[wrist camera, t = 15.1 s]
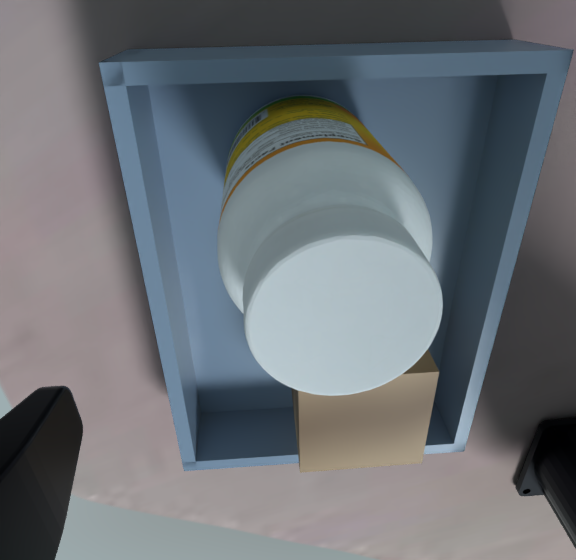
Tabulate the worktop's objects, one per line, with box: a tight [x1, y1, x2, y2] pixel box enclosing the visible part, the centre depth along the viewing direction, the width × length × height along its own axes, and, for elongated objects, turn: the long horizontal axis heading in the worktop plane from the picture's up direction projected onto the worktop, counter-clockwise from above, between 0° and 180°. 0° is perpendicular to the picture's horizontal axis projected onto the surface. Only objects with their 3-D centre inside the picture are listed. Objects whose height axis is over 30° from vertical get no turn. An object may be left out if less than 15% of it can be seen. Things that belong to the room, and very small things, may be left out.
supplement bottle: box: [217, 95, 443, 396], centre depth 13 cm, size 5×5×10 cm
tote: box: [99, 40, 573, 471], centre depth 19 cm, size 17×13×4 cm
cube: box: [291, 349, 439, 473], centre depth 20 cm, size 5×5×5 cm
